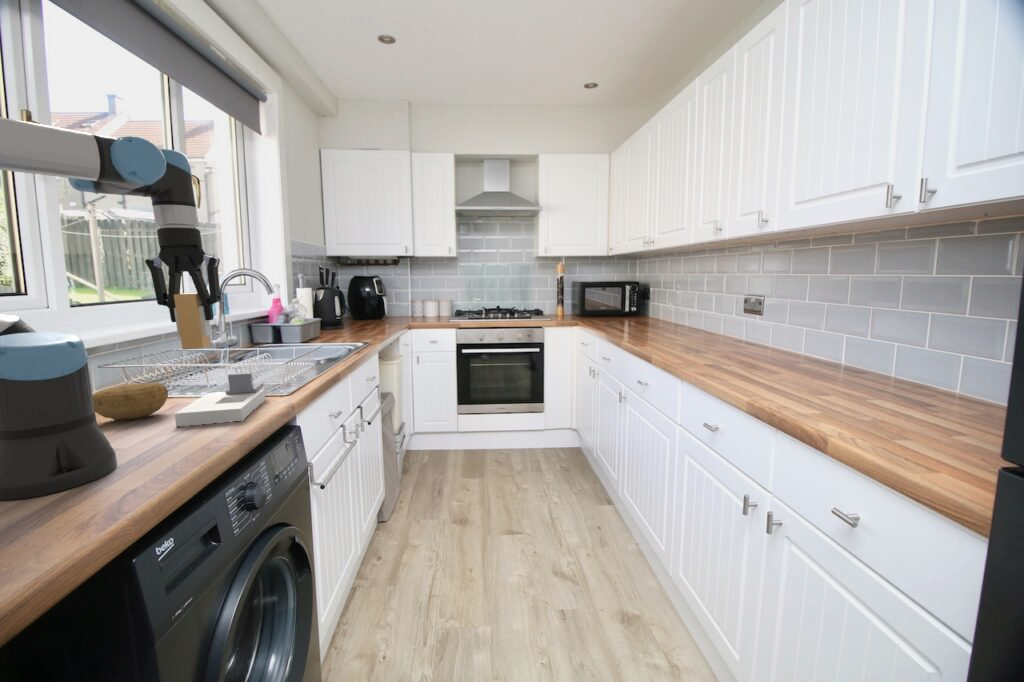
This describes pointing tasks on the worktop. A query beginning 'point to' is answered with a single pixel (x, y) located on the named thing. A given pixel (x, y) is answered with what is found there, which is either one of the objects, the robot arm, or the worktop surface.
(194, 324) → the plug
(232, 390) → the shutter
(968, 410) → the worktop surface
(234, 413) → the socket board
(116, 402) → the potato
